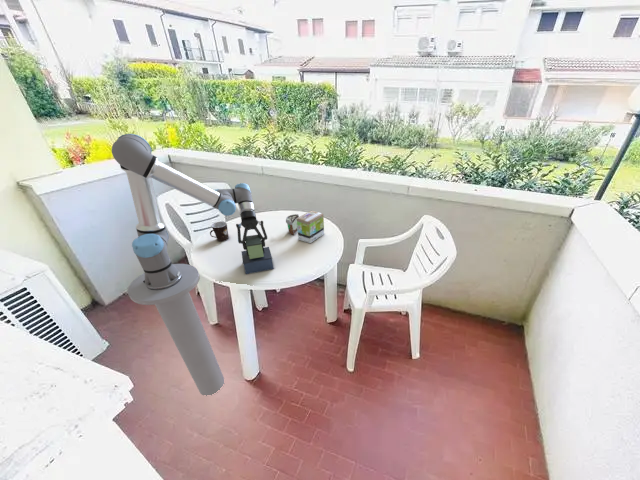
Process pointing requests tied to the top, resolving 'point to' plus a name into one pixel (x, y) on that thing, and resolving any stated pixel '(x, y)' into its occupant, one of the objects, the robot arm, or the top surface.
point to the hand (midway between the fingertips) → (256, 253)
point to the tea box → (310, 226)
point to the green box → (254, 246)
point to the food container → (292, 223)
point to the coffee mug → (220, 230)
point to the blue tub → (257, 262)
